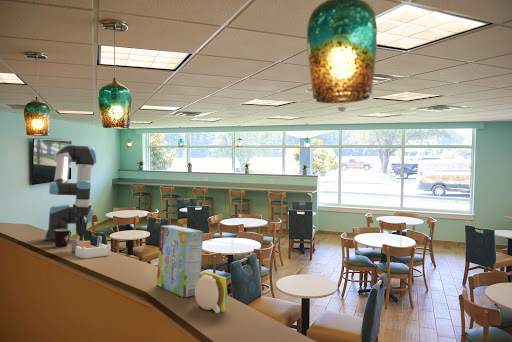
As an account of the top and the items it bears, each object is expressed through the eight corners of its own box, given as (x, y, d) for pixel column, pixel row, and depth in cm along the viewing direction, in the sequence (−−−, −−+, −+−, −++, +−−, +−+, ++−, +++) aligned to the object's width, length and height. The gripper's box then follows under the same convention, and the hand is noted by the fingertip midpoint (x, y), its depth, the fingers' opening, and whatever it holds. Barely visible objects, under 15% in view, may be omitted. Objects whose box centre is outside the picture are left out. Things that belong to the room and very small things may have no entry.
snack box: (201, 294, 149) (204, 230, 150) (182, 298, 143) (186, 232, 144) (173, 282, 165) (176, 224, 165) (155, 285, 159) (158, 225, 159)
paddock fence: (68, 254, 209) (69, 238, 209) (98, 250, 221) (99, 235, 222) (79, 258, 198) (80, 242, 199) (110, 255, 211) (111, 239, 211)
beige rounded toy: (189, 306, 135) (191, 273, 135) (206, 301, 141) (208, 270, 142) (211, 315, 127) (213, 280, 127) (228, 310, 133) (230, 276, 134)
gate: (74, 253, 207) (75, 240, 207) (70, 252, 208) (71, 240, 208) (90, 249, 220) (91, 237, 220) (87, 248, 221) (87, 237, 221)
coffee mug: (57, 248, 223) (58, 231, 223) (50, 246, 228) (51, 229, 228) (76, 246, 232) (77, 230, 232) (69, 244, 237) (70, 228, 237)
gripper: (71, 205, 223) (68, 244, 222) (80, 207, 214) (77, 248, 213) (84, 205, 228) (81, 243, 228) (93, 207, 220) (90, 247, 219)
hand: (79, 245), depth 221 cm, fingers closed
